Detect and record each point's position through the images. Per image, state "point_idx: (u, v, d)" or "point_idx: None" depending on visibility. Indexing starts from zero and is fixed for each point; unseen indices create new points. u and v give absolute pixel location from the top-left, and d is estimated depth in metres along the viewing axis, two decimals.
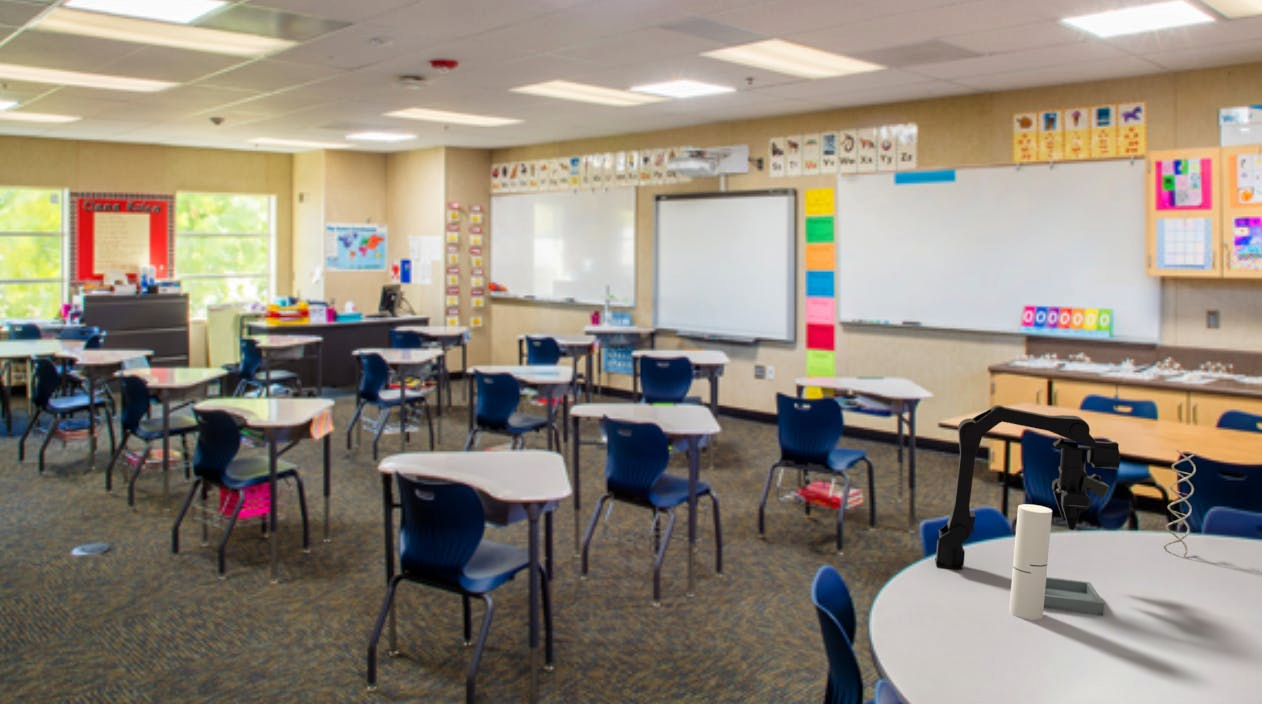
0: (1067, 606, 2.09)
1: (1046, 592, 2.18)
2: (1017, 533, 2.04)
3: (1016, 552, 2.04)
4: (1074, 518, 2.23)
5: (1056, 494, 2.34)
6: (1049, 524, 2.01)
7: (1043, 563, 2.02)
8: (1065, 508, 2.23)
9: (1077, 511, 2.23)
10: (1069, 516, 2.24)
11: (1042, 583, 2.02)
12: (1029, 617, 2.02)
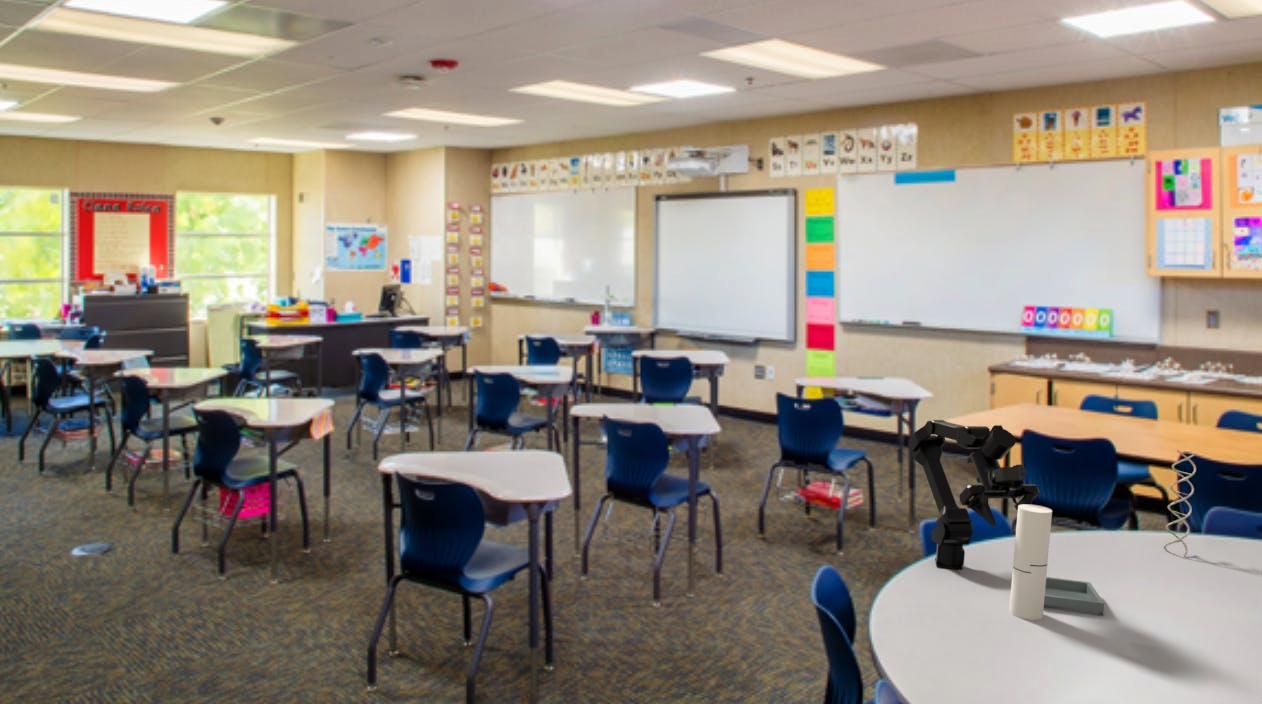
0: (1067, 606, 2.09)
1: (1046, 592, 2.18)
2: (1017, 533, 2.04)
3: (1016, 552, 2.04)
4: (986, 513, 2.13)
5: (1015, 506, 2.19)
6: (1049, 524, 2.01)
7: (1043, 563, 2.02)
8: (974, 509, 2.16)
9: None
10: (982, 514, 2.14)
11: (1042, 583, 2.02)
12: (1029, 617, 2.02)
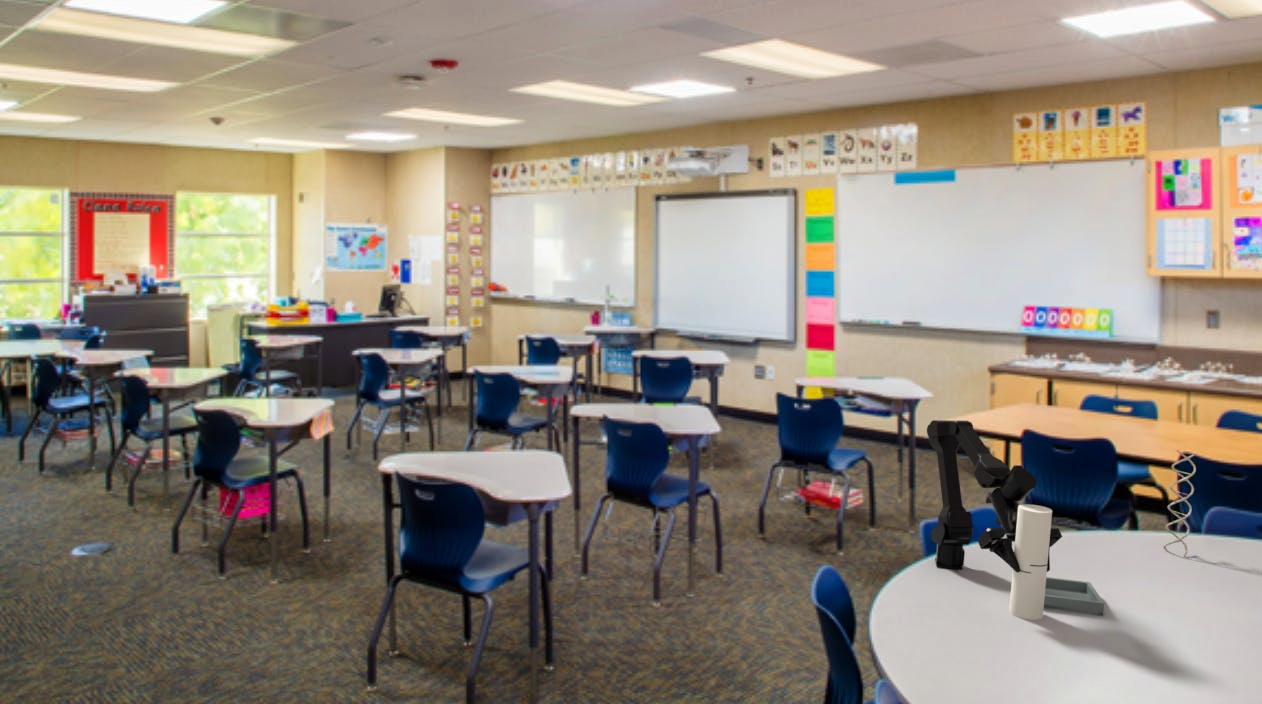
0: (1067, 606, 2.09)
1: (1046, 592, 2.18)
2: (1017, 533, 2.04)
3: (1016, 552, 2.04)
4: (1009, 558, 2.05)
5: None
6: (1049, 524, 2.01)
7: (1043, 563, 2.02)
8: (997, 553, 2.08)
9: None
10: (1006, 559, 2.06)
11: (1042, 583, 2.02)
12: (1029, 617, 2.02)
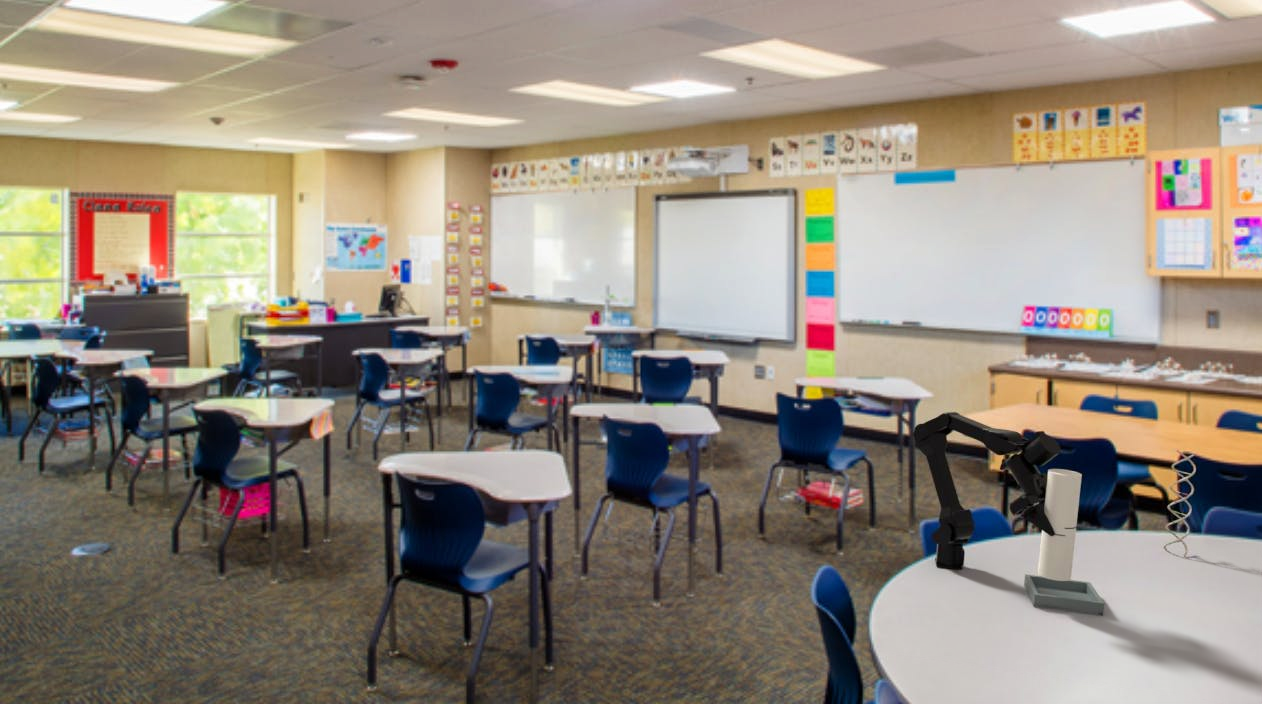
0: (1067, 606, 2.09)
1: (1046, 592, 2.18)
2: (1050, 498, 2.08)
3: (1049, 516, 2.08)
4: (1043, 522, 2.08)
5: None
6: (1080, 486, 2.07)
7: (1075, 525, 2.07)
8: (1028, 518, 2.10)
9: (1039, 514, 2.08)
10: (1038, 523, 2.09)
11: (1073, 545, 2.07)
12: (1062, 579, 2.07)
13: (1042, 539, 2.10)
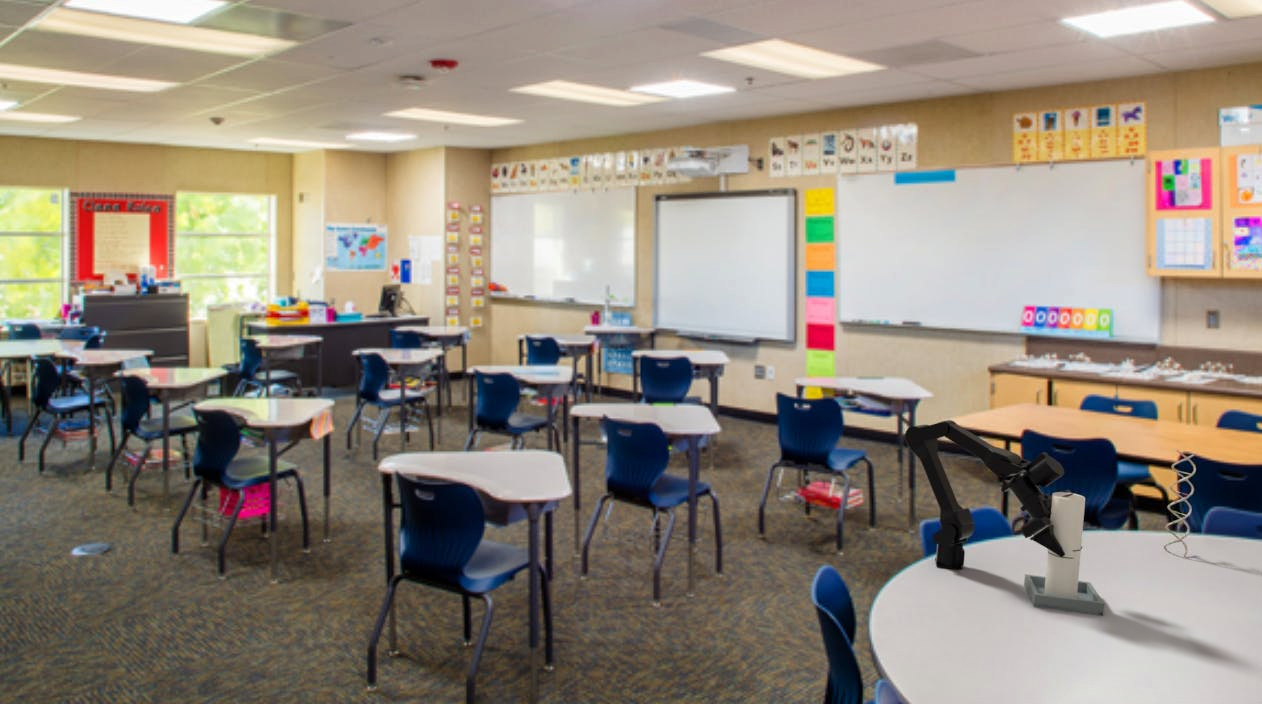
0: (1067, 606, 2.09)
1: None
2: (1057, 522, 2.12)
3: (1057, 540, 2.12)
4: (1053, 544, 2.11)
5: None
6: None
7: (1080, 547, 2.12)
8: (1037, 540, 2.13)
9: (1049, 536, 2.12)
10: (1048, 545, 2.12)
11: (1079, 565, 2.13)
12: None
13: (1049, 562, 2.14)
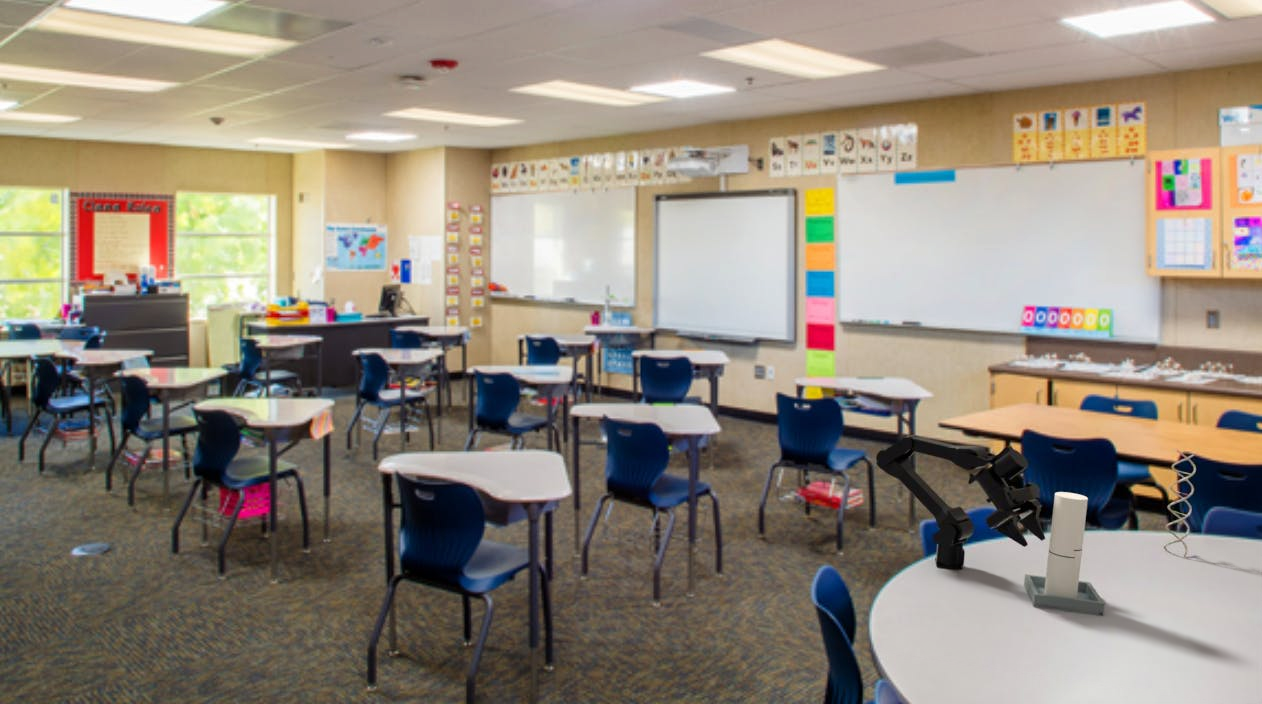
0: (1067, 606, 2.09)
1: None
2: (1059, 521, 2.12)
3: (1058, 539, 2.13)
4: (1016, 534, 2.18)
5: (1020, 521, 2.28)
6: None
7: None
8: (1001, 530, 2.20)
9: (1012, 526, 2.18)
10: (1011, 535, 2.19)
11: None
12: None
13: (1050, 561, 2.15)
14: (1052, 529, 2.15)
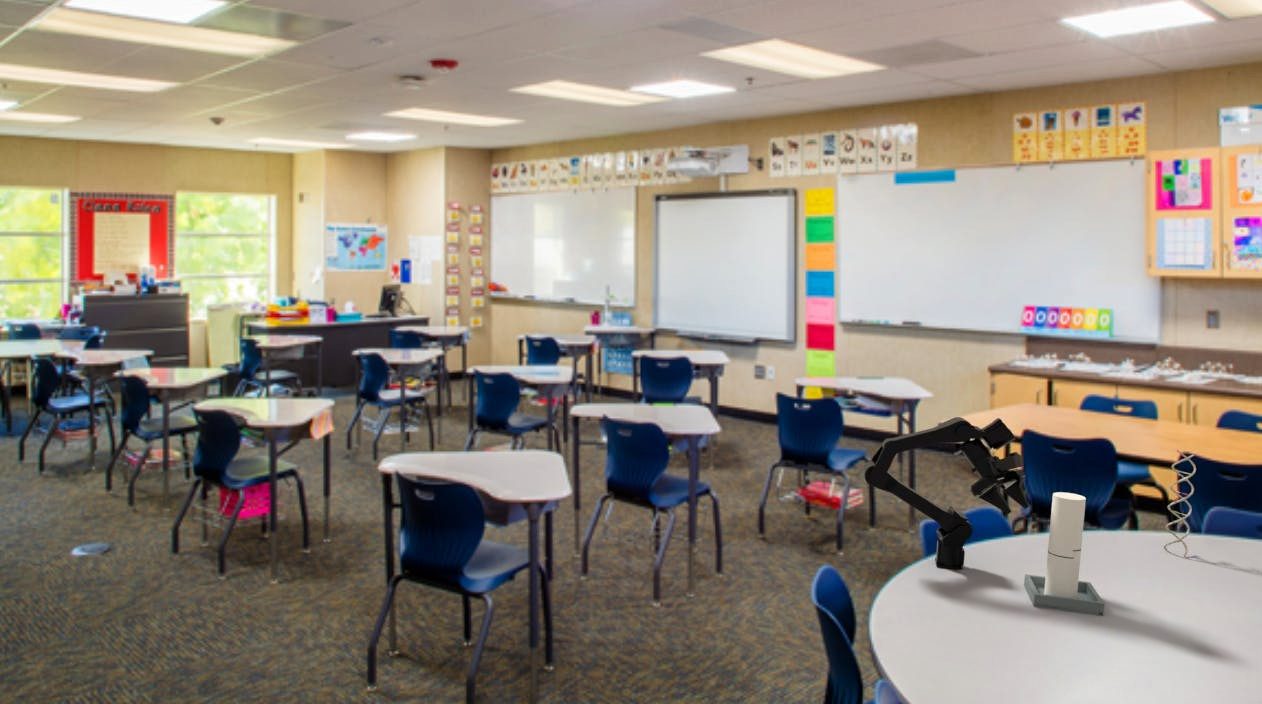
0: (1067, 606, 2.09)
1: None
2: (1057, 522, 2.12)
3: (1057, 540, 2.13)
4: (1000, 502, 2.24)
5: (1005, 491, 2.34)
6: None
7: None
8: (985, 499, 2.26)
9: (996, 494, 2.24)
10: (995, 503, 2.25)
11: (1079, 566, 2.13)
12: None
13: (1049, 562, 2.15)
14: (1051, 530, 2.15)
